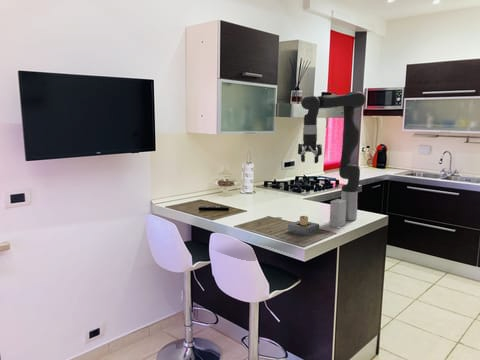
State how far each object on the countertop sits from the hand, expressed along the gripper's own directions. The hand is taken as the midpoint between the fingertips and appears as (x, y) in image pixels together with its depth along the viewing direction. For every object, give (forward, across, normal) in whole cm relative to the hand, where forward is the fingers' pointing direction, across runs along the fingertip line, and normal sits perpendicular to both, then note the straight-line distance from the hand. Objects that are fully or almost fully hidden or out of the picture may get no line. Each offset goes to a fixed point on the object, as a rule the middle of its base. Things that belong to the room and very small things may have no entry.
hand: (309, 162), depth 214 cm
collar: (+36, -5, +12) cm, 38 cm away
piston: (+36, -5, +12) cm, 38 cm away
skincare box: (+36, -13, -10) cm, 40 cm away
